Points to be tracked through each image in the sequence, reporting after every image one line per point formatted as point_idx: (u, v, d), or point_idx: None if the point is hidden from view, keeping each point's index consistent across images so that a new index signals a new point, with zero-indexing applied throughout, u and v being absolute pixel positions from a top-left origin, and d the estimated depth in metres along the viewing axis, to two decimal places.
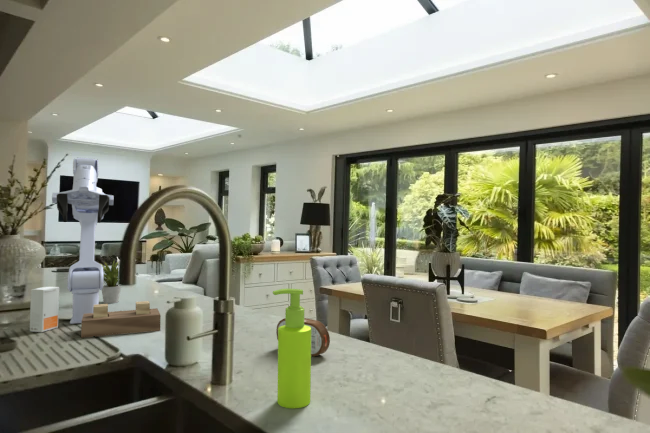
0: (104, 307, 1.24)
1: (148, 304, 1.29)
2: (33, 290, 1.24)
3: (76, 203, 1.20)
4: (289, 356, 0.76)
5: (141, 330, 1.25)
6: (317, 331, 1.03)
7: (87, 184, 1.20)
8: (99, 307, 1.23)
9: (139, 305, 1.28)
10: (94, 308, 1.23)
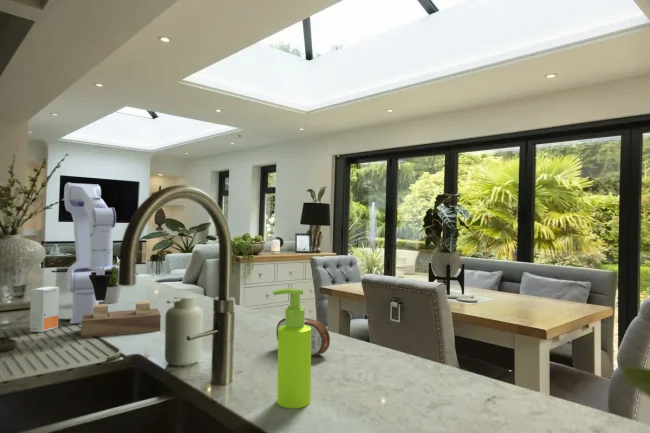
0: (104, 307, 1.24)
1: (148, 304, 1.29)
2: (33, 290, 1.24)
3: None
4: (289, 356, 0.76)
5: (141, 330, 1.25)
6: (317, 331, 1.03)
7: None
8: (99, 307, 1.23)
9: (139, 305, 1.28)
10: (94, 308, 1.23)
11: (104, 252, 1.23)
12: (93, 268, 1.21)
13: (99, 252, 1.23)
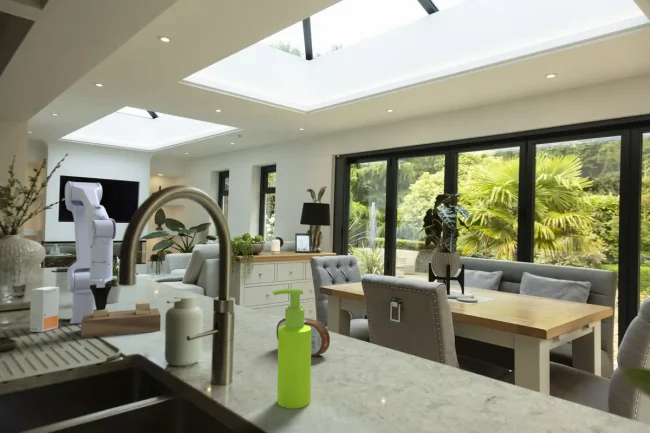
0: (104, 311, 1.24)
1: (148, 304, 1.29)
2: (33, 290, 1.24)
3: None
4: (289, 356, 0.76)
5: (141, 330, 1.25)
6: (317, 331, 1.03)
7: None
8: (99, 311, 1.23)
9: (139, 305, 1.28)
10: (94, 312, 1.23)
11: (104, 264, 1.23)
12: (93, 280, 1.21)
13: (99, 264, 1.23)
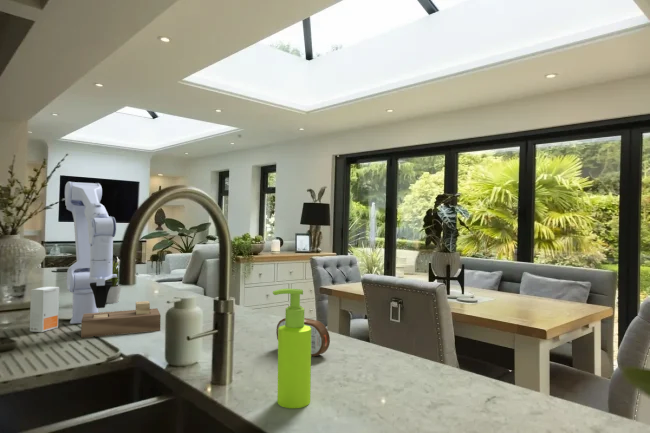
0: None
1: (148, 304, 1.29)
2: (33, 290, 1.24)
3: None
4: (289, 356, 0.76)
5: (141, 330, 1.25)
6: (317, 331, 1.03)
7: None
8: None
9: (139, 305, 1.28)
10: None
11: (104, 262, 1.23)
12: (93, 278, 1.21)
13: (99, 262, 1.23)
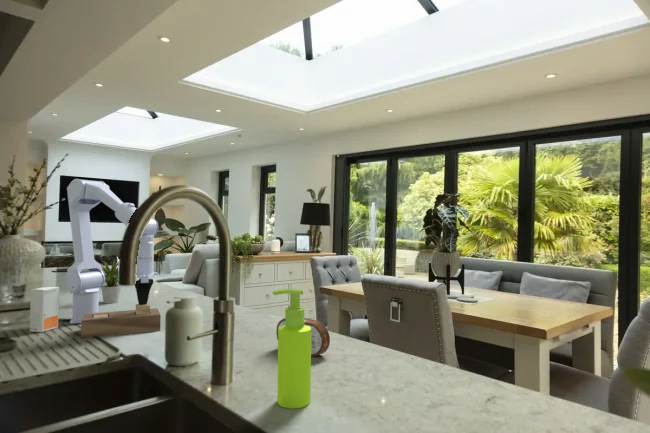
0: None
1: (148, 306, 1.29)
2: (33, 290, 1.24)
3: None
4: (289, 356, 0.76)
5: (141, 330, 1.25)
6: (317, 331, 1.03)
7: None
8: None
9: (139, 307, 1.28)
10: None
11: (147, 260, 1.28)
12: (137, 276, 1.26)
13: (142, 260, 1.27)
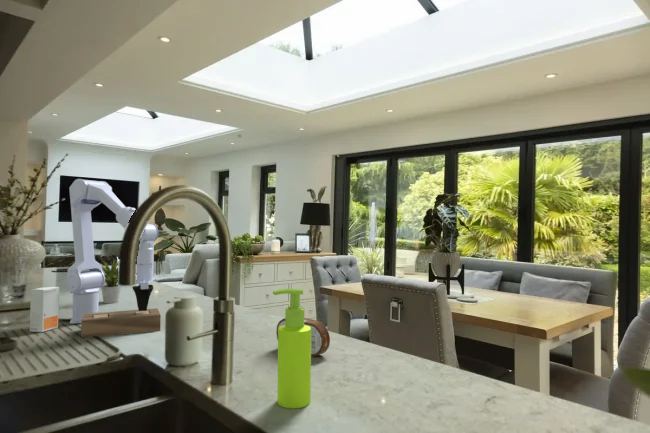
0: None
1: None
2: (33, 290, 1.24)
3: None
4: (289, 356, 0.76)
5: (141, 330, 1.25)
6: (317, 331, 1.03)
7: None
8: None
9: None
10: None
11: (146, 266, 1.28)
12: (137, 282, 1.26)
13: (142, 266, 1.27)
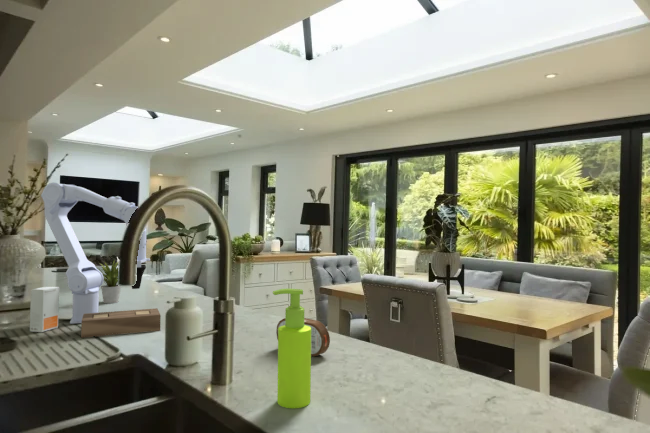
0: None
1: None
2: (33, 290, 1.24)
3: None
4: (289, 356, 0.76)
5: (141, 330, 1.25)
6: (317, 331, 1.03)
7: None
8: None
9: None
10: None
11: (139, 247, 1.35)
12: None
13: None
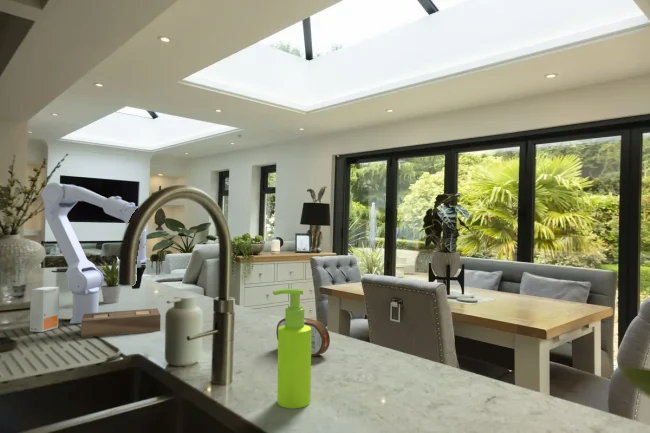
0: None
1: None
2: (33, 290, 1.24)
3: None
4: (289, 356, 0.76)
5: (141, 330, 1.25)
6: (317, 331, 1.03)
7: None
8: None
9: None
10: None
11: (139, 247, 1.35)
12: None
13: None
